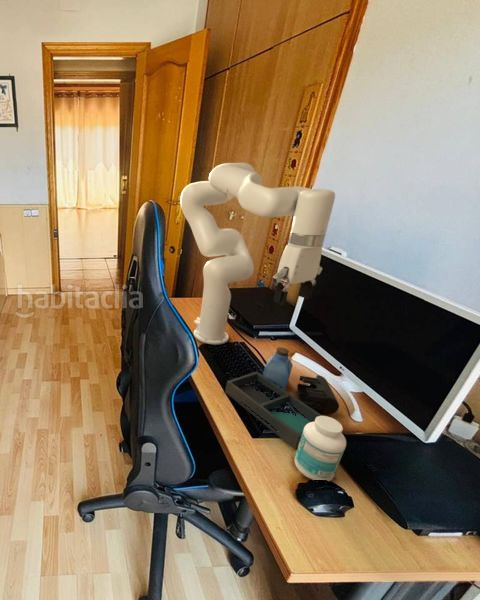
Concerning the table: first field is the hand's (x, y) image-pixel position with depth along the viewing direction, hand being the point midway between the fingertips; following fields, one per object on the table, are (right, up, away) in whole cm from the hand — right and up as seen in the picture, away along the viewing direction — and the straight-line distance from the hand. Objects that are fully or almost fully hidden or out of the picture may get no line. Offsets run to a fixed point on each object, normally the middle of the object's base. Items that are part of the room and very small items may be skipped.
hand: (291, 300), depth 91 cm
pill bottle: (-7, -38, -18) cm, 43 cm away
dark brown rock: (+7, -29, +1) cm, 30 cm away
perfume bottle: (+1, -26, +10) cm, 27 cm away
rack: (-6, -31, -1) cm, 31 cm away
